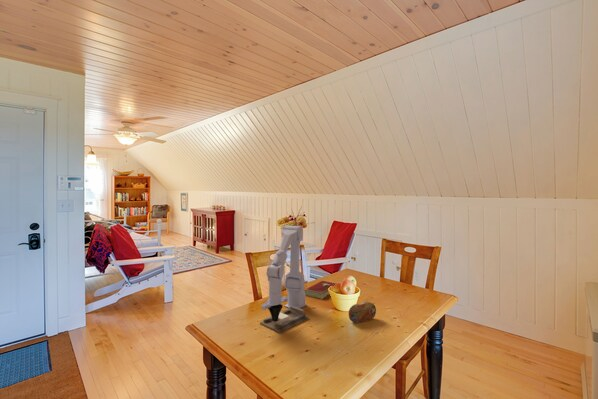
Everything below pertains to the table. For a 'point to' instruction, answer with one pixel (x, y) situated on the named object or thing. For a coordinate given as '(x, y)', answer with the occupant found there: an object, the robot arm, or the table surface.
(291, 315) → the brown and grey tray
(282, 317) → the block
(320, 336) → the table surface
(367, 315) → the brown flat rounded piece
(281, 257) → the robot arm
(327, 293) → the hardcover book
